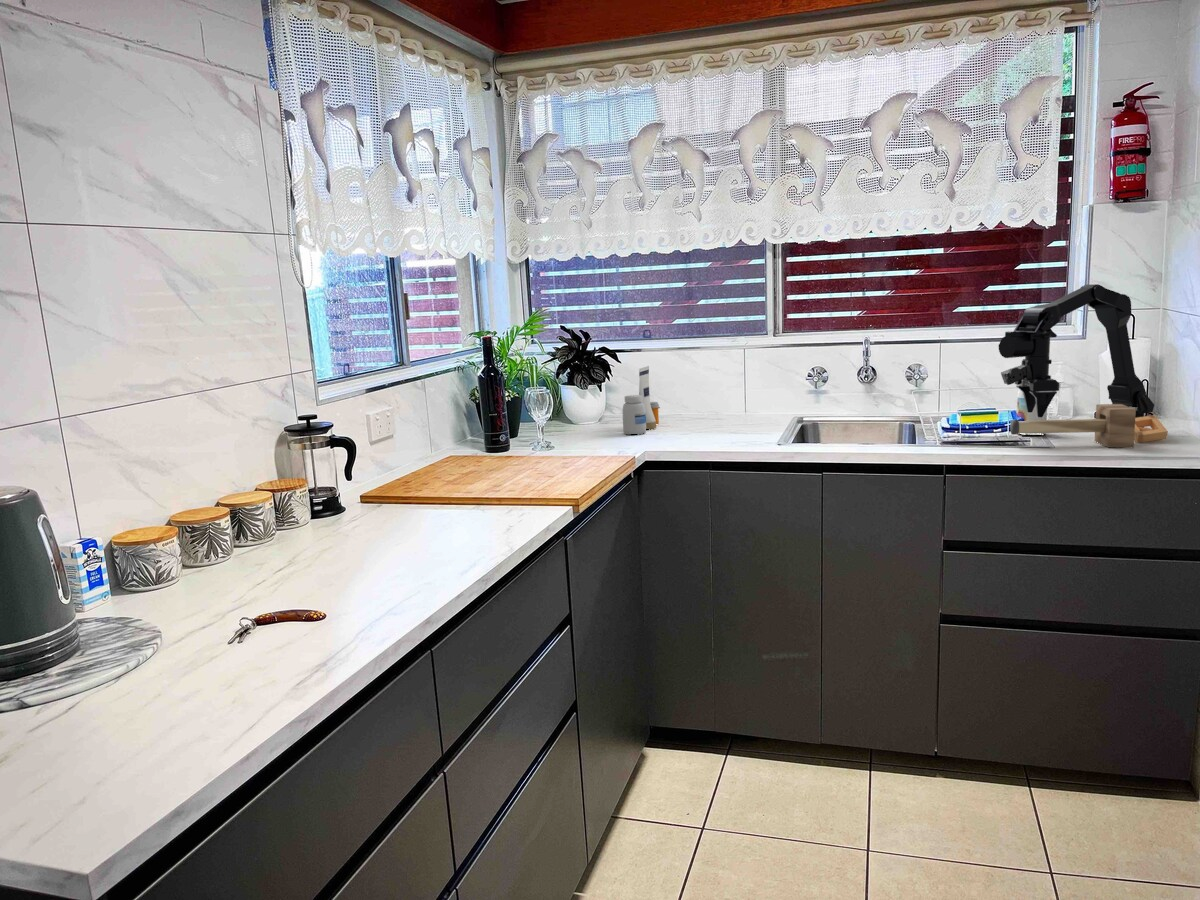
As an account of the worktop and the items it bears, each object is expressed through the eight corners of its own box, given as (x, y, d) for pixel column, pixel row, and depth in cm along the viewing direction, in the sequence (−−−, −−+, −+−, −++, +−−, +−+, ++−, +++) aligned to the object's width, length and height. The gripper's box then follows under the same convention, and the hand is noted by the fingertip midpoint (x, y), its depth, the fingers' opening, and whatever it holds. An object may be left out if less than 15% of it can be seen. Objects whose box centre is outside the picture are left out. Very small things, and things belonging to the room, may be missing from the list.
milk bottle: (1045, 432, 261) (1048, 362, 257) (1046, 437, 254) (1049, 365, 250) (1016, 432, 264) (1018, 363, 260) (1015, 436, 257) (1018, 365, 253)
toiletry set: (642, 436, 288) (639, 371, 285) (620, 435, 291) (617, 371, 287) (665, 424, 311) (663, 364, 308) (644, 423, 314) (642, 364, 310)
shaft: (1010, 433, 244) (1010, 418, 244) (1103, 431, 240) (1104, 416, 240) (1014, 435, 241) (1014, 420, 240) (1108, 434, 236) (1109, 419, 236)
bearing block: (1094, 441, 244) (1096, 404, 242) (1118, 441, 243) (1120, 404, 241) (1108, 448, 234) (1110, 409, 233) (1133, 447, 233) (1135, 409, 231)
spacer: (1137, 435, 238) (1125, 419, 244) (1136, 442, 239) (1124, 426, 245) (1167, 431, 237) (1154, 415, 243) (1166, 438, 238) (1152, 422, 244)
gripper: (995, 354, 248) (993, 410, 251) (1014, 359, 230) (1011, 420, 233) (1039, 352, 246) (1036, 409, 249) (1061, 358, 228) (1058, 419, 231)
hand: (1034, 414), depth 241 cm, fingers open, 9 cm apart
